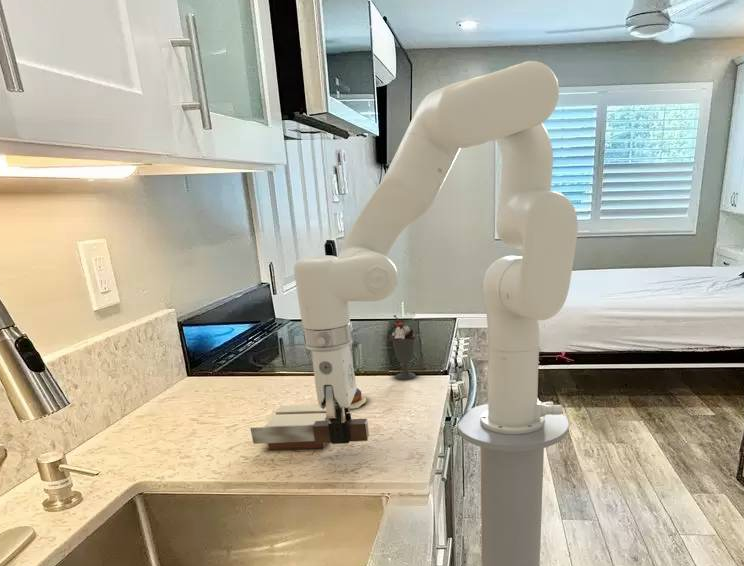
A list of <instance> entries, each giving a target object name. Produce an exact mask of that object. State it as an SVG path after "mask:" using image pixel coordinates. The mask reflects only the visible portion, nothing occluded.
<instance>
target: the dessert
mask: <svg viewBox="0 0 744 566" xmlns="http://www.w3.org/2000/svg"><path fill="white" fill-rule="evenodd" d="M366 402H367V397H366V396H364V395H362V391H361V390H360V389H359V388H358V387H356V393H355V395H354V398H353V400H352V402H351V404H350V406H349V407H350V410H352V409H358V408H360V407H361V406H362V405H364V404H366Z"/></svg>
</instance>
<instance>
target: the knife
mask: <svg viewBox="0 0 744 566" xmlns="http://www.w3.org/2000/svg"><path fill="white" fill-rule="evenodd" d="M345 421H348V428H349V435H350V442H349V443H353V442H368V439H369V436H370V431H369V423H368V418H366V417H365V418H351V419H347V420H345ZM249 429H250V434H251V439H252V443H253V445H261V444H263V445H264V444H268V443H283V442H303V441H315V443H326V444H330V443H331V439H330V432H329V426H328V420H327V421H315V423H314V425H294V426H274V427H265V426H259V427H257V426H256V427H250V428H249ZM331 444H332V443H331Z"/></svg>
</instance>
